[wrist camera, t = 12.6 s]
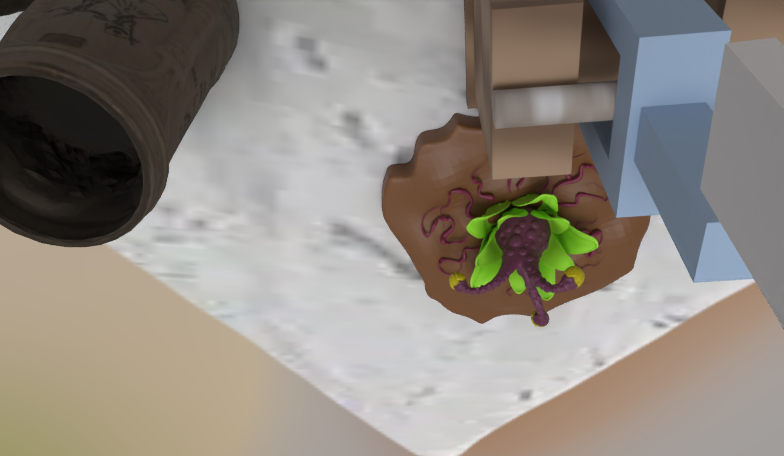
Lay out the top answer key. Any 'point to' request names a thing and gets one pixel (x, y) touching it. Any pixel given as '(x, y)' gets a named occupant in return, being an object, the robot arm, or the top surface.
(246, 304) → the top surface
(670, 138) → the light blue forked piece
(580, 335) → the top surface
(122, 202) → the beer stein
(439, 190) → the plant
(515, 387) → the top surface
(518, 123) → the stand
